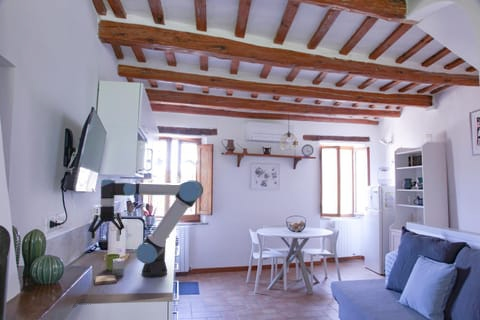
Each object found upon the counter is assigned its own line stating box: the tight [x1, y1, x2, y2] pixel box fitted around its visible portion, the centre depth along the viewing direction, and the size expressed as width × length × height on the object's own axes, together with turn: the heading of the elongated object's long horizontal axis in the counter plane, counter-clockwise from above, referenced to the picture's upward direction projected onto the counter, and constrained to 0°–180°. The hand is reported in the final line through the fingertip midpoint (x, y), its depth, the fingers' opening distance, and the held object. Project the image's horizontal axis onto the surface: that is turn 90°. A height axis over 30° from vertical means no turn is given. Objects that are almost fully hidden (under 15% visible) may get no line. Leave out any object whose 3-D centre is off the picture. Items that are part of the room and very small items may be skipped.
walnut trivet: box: [94, 274, 117, 286], centre depth 181 cm, size 11×11×2 cm
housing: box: [111, 257, 125, 278], centre depth 194 cm, size 6×7×9 cm
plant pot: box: [104, 253, 121, 271], centre depth 205 cm, size 9×9×9 cm
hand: (106, 242), depth 187 cm, fingers open, 13 cm apart
